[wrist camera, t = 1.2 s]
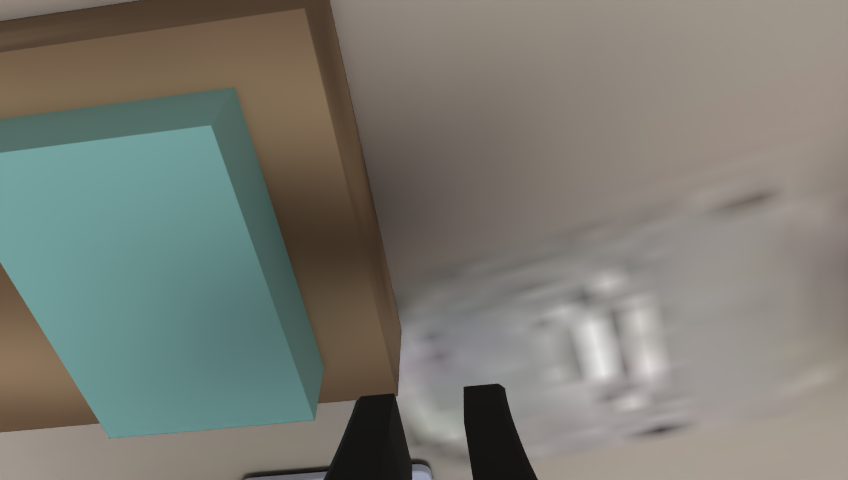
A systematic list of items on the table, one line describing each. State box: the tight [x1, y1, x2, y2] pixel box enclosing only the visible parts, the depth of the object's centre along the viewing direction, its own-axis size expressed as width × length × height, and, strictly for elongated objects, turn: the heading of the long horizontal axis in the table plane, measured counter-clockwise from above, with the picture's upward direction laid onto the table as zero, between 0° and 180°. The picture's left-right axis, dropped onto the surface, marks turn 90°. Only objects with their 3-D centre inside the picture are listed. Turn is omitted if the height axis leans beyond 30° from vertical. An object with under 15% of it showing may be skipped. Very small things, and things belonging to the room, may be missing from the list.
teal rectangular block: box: [0, 87, 324, 439], centre depth 17 cm, size 9×6×2 cm, turn 8°
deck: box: [0, 0, 401, 432], centre depth 20 cm, size 12×14×3 cm
